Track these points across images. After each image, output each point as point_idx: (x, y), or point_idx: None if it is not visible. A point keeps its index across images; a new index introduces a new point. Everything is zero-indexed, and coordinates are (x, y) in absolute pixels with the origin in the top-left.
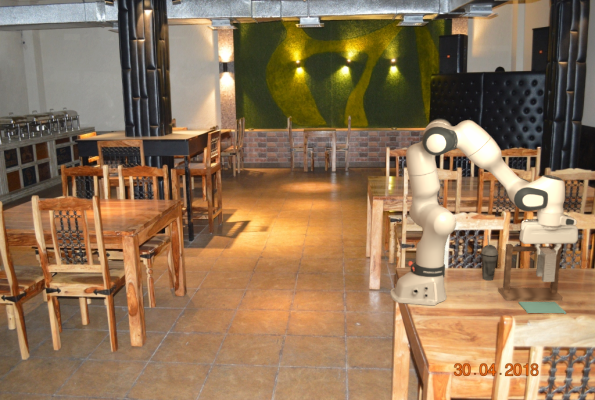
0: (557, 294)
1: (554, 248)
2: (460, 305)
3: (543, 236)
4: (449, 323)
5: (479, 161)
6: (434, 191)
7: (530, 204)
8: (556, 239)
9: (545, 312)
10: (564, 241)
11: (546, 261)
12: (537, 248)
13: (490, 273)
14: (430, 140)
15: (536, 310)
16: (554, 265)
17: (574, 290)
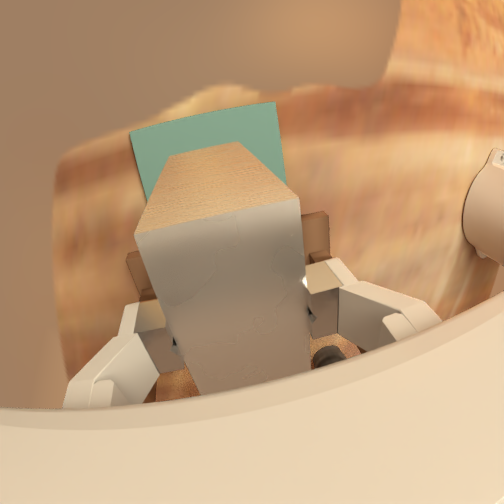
0: (140, 279)
1: (153, 375)
2: (450, 153)
3: (465, 459)
4: (479, 46)
5: None
6: None
7: None
8: (123, 475)
9: (208, 112)
10: (9, 430)
11: (253, 174)
12: (392, 291)
13: (333, 361)
14: None
15: (239, 125)
16: (166, 182)
17: (94, 335)
